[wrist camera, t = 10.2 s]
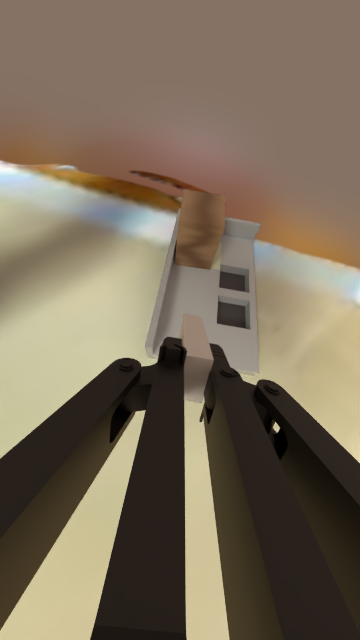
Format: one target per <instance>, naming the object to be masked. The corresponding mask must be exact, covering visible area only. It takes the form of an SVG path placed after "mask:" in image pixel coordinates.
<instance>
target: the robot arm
mask: <svg viewBox="0 0 360 640" xmlns="http://www.w3.org/2000/svg"><path fill="white" fill-rule="evenodd" d="M203 396H204V399H205V403H204V406H203V410H202V413H201V417H200V422H202V419H203V417H204V426H205V434H206V443H207V451H208V460H209V468H210V477H211V485H212V493H213V502H214V510H215V519H216V527H217V536H218V544H219V553H220V561H221V570H222V578H223V587H224V595H225V604H226V612H227V621H228V629H229V638H230V640H360V463H359V462H358V461H357V460H356V459H355V458H354V457H353V456H352V455H351V454H350V453H349V452H348V451H347V450H346V449H345V448H343V447H342V446H341V445H340V444H339V443H338V442H337V441H336V440H335V439H334V438H333V437H332V436H331V435H330V434H329V433H328V432H327V431H326V430H325V429H324V428H323V427H322V426H321V425H320V424H319V423H318V422H317V421H316V420H315V419H314V418H313V417H312V416H311V415H310V414H309V413H308V412H307V411H306V410H305V409H304V408H303V407H302V406H301V405H300V404H299V403H298V402H297V401H296V400H295V399H293V398H292V397H291V396H290V395H289V394H288V393H287V392H286V391H285V390H284V389H283V388H282V387H281V386H279V385H278V384H276V383H275V382H273V381H270V380H264V379H263V380H259V381H258V382H257V385H253V384H250V383H247V382H245V381H243V380H242V378H241V376H240V374H239V373H238V372H237V371H236V370H235V369H233V368H231V367H230V365H229V363H228V360H227V358H226V355H225V354H224V351H223V349H222V348H221V347H220V346H219V345H218V344H212V343H209V342H208V338H207V334H206V331H205V327H204V324H203V320H202V317H200V316H195V315H189V314H184V315H183V320H182V325H181V330H180V335H179V338H174V337H168V336H167V337H166V338H165V339H164V340H163V344H162V345H161V346H160V349H159V356H158V362H157V363H156V364H154V365H151V366H143V367H141V364H140V363H139V361H137V360H135V359H132V358H121V359H118V360H116V361H114V362H113V363H112V364H110V365H109V366H108V367H107V368H106V369H105V370H103V371H102V372H101V373H100V374H99V375H98V376H96V377H95V378H94V379H93V380H92V381H91V382H89V383H88V384H87V385H86V386H85V387H84V388H82V389H81V390H80V391H79V392H78V393H77V394H75V395H74V396H73V397H72V398H71V399H70V400H68V401H67V402H66V403H65V404H64V405H63V406H61V407H60V408H59V409H58V410H57V411H56V412H54V413H53V414H52V415H51V416H50V417H49V418H47V419H46V420H45V421H44V422H43V423H42V424H40V425H39V426H38V427H37V428H36V429H34V430H33V431H32V432H31V433H30V434H29V435H27V436H26V437H25V438H24V439H23V440H22V441H20V442H19V443H18V444H17V445H16V446H15V447H13V448H12V449H11V450H10V451H9V452H8V453H6V454H5V455H4V456H3V457H2V458H1V459H0V630H1V628H2V627H3V625H4V623H5V622H6V620H7V619H8V617H9V615H10V614H11V612H12V611H13V609H14V607H15V606H16V604H17V603H18V601H19V599H20V598H21V596H22V595H23V593H24V591H25V590H26V588H27V587H28V585H29V583H30V582H31V580H32V579H33V577H34V575H35V574H36V572H37V570H38V569H39V567H40V566H41V564H42V562H43V561H44V559H45V558H46V556H47V554H48V553H49V551H50V550H51V548H52V546H53V545H54V543H55V542H56V540H57V538H58V537H59V535H60V534H61V532H62V530H63V529H64V527H65V526H66V524H67V522H68V521H69V519H70V518H71V516H72V514H73V513H74V511H75V510H76V508H77V506H78V505H79V503H80V501H81V500H82V498H83V497H84V495H85V493H86V492H87V490H88V489H89V487H90V485H91V484H92V482H93V481H94V479H95V477H96V476H97V474H98V473H99V471H100V469H101V468H102V466H103V465H104V463H105V461H106V460H107V458H108V457H109V455H110V453H111V452H112V450H113V449H114V447H115V445H116V444H117V442H118V440H119V439H120V437H121V436H122V434H123V432H124V431H125V429H126V428H127V426H128V424H129V423H130V421H131V420H132V418H133V416H134V415H135V412H136V411H142V410H146V412H145V416H144V420H143V424H142V428H141V433H140V437H139V441H138V445H137V449H136V453H135V458H134V462H133V466H132V470H131V474H130V478H129V483H128V487H127V491H126V495H125V499H124V503H123V508H122V512H121V516H120V520H119V524H118V528H117V533H116V537H115V541H114V545H113V549H112V554H111V558H110V562H109V566H108V570H107V574H106V579H105V583H104V587H103V591H102V595H101V599H100V604H99V608H98V612H97V616H96V620H95V624H94V628H93V631H92V635H91V639H90V640H187V639H186V604H185V448H184V400H186V401H193V402H199V403H202V400H203ZM275 422H276V423H277V424H278V425H279V427H280V430H279V432H278V433H277V432H276V431H275V430H274V429H273V426H274V424H275Z"/></svg>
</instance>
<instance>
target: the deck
mask: <svg viewBox="0 0 360 640" xmlns="http://www.w3.org/2000/svg"><path fill="white" fill-rule="evenodd" d="M180 210H181V209H180V208H179V210H178V214H177V218H176V223H175V227H174V231H173V235H172V239H171V243H170V247H169V251H168V255H167V259H166V263H165V267H164V271H163V275H162V279H161V284H160V288H159V292H158V296H157V300H156V304H155V308H154V312H153V316H152V320H151V324H150V328H149V332H148V336H147V340H146V344H145V348H146V352H147V355H148V357H149V358H155V359H158V356H159V349H160V346H161V345H162V344H163V340H164V339H165V338H166V337H167V336H168V337H174V338H179V335H180V330H181V325H182V320H183V315H184V314H189V315H195V316H200V317H202V320H203V324H204V327H205V331H206V334H207V338H208V342H209V343H212V344H218V345H219V346H220V347H221V348H222V349H223V351H224V354H225V355H226V358H227V360H228V363H229V365H230V367H231V368H233V369H235V370H236V371H237V372H238V373H242V374H248V375H254V374H257V373H259V359H258V337H257V314H256V292H255V270H254V248H253V240H254V238H255V236H256V234H257V232H258V230H259V229H260V227H261V224H260V223H256V222H250V221H245V220H239V219H234V218H228V217H225V228H224V231H223V234H222V237H221V240H220V243H219V246H218V249H217V251H216V254H215V257H214V260H213V263H212V266H211V269H210V270H207V269H201V268H194V267H187V266H180V265H175V256H176V245H177V234H178V223H179V216H180Z"/></svg>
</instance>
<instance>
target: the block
mask: <svg viewBox="0 0 360 640" xmlns="http://www.w3.org/2000/svg"><path fill="white" fill-rule="evenodd" d="M224 228H225V196H223V195H217V194H211V193H205V192H199V191H192V190H186V189H184V192H183V198H182V204H181V210H180V216H179V223H178V234H177V245H176V256H175V265H180V266H187V267H194V268H201V269H207V270H210V269H211V266H212V263H213V260H214V257H215V254H216V251H217V249H218V246H219V243H220V240H221V237H222V234H223V231H224Z"/></svg>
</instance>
